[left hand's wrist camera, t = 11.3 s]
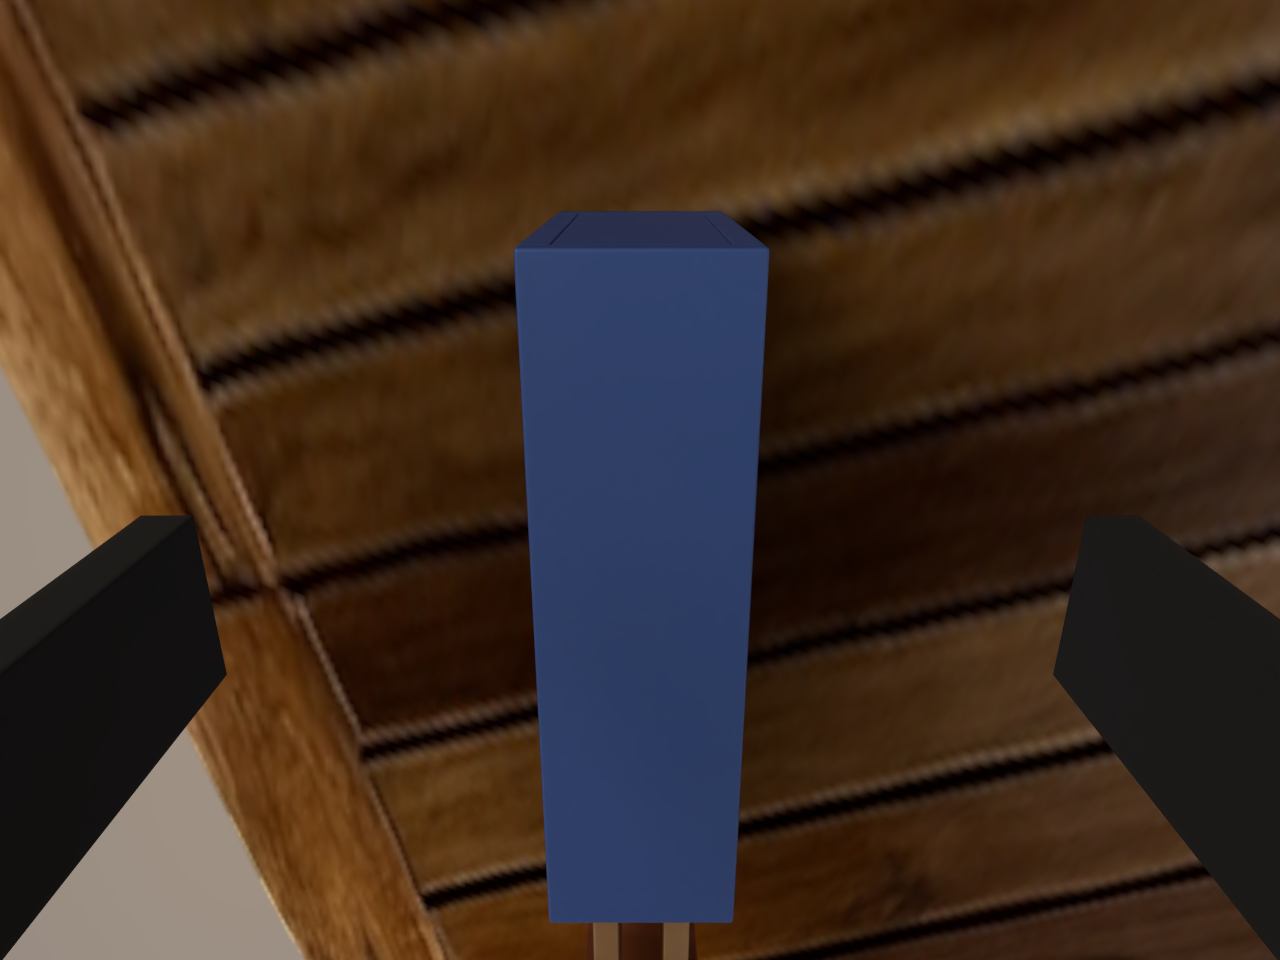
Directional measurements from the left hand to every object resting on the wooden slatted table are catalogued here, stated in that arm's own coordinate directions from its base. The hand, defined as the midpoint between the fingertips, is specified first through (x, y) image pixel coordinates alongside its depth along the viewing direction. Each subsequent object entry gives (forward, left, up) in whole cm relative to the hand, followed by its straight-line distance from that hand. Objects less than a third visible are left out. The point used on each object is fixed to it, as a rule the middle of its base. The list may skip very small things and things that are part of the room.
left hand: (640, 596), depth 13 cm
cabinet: (+2, +5, -18) cm, 19 cm away
